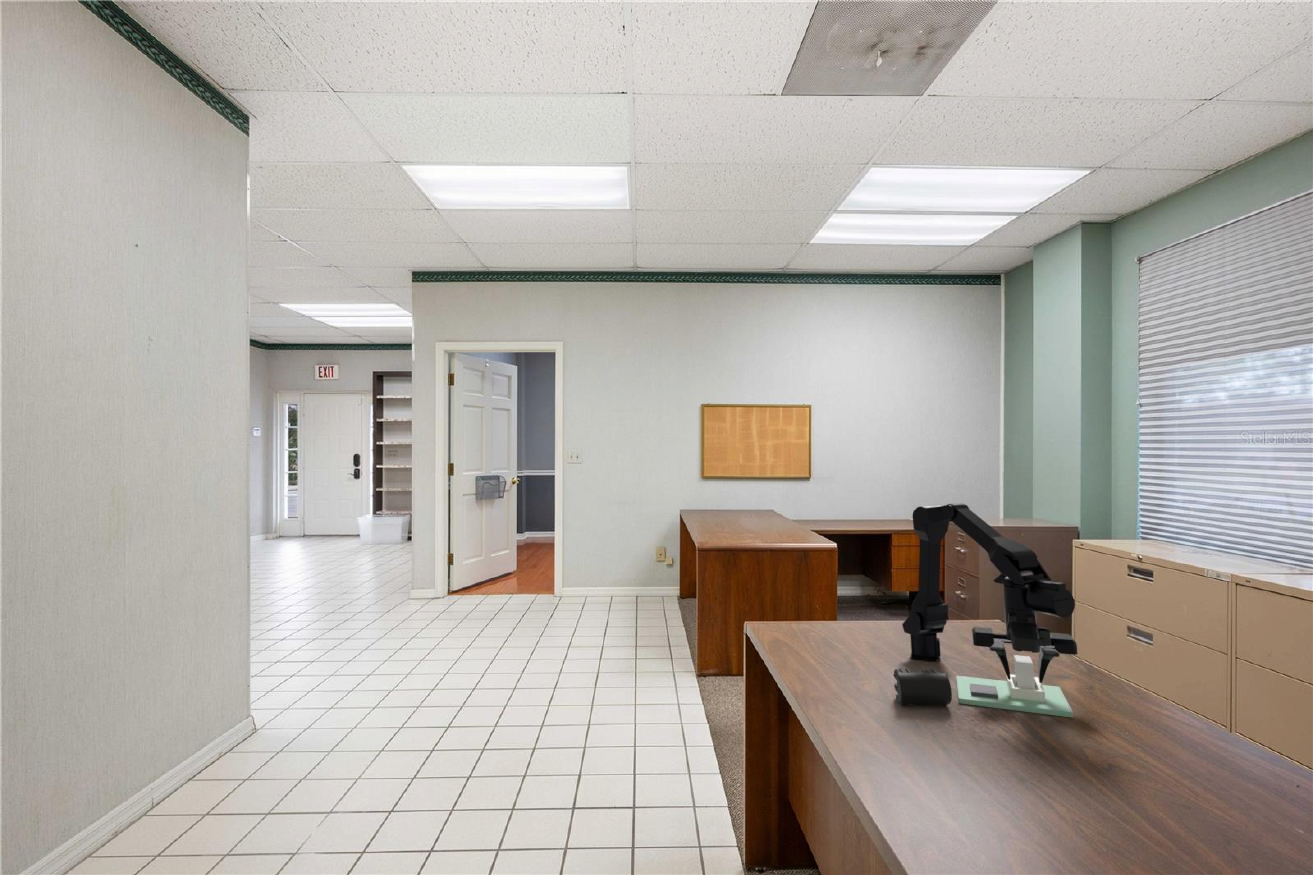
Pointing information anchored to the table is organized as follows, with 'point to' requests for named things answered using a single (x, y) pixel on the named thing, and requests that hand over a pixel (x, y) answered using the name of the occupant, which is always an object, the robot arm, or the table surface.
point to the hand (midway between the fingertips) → (1024, 680)
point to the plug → (1024, 672)
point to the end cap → (922, 688)
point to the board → (1013, 696)
